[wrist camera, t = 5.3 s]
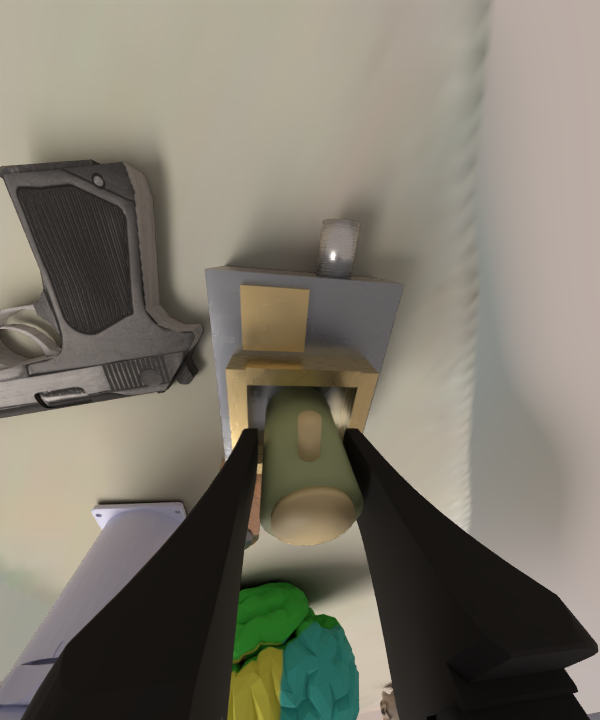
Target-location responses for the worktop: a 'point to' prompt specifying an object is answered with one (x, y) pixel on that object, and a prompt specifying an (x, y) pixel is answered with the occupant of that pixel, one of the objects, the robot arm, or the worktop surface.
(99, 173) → the handgun
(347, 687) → the brain model
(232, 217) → the worktop surface
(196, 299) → the worktop surface
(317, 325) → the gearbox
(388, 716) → the animal model
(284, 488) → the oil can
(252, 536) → the copper can
